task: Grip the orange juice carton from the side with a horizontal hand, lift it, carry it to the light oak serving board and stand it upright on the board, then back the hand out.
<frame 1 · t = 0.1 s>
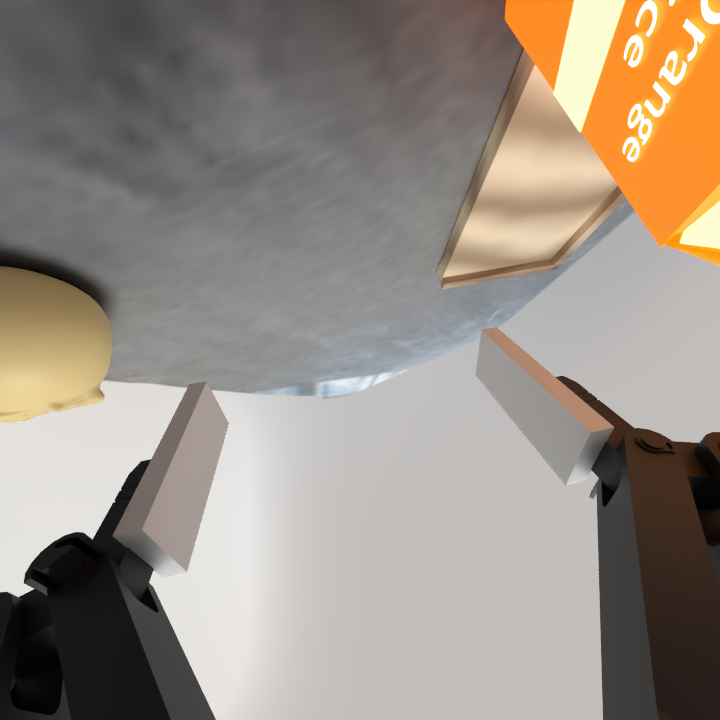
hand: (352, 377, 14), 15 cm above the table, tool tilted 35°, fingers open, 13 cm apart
serving board: (541, 187, 26), on the table
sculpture: (31, 292, 26), on the table
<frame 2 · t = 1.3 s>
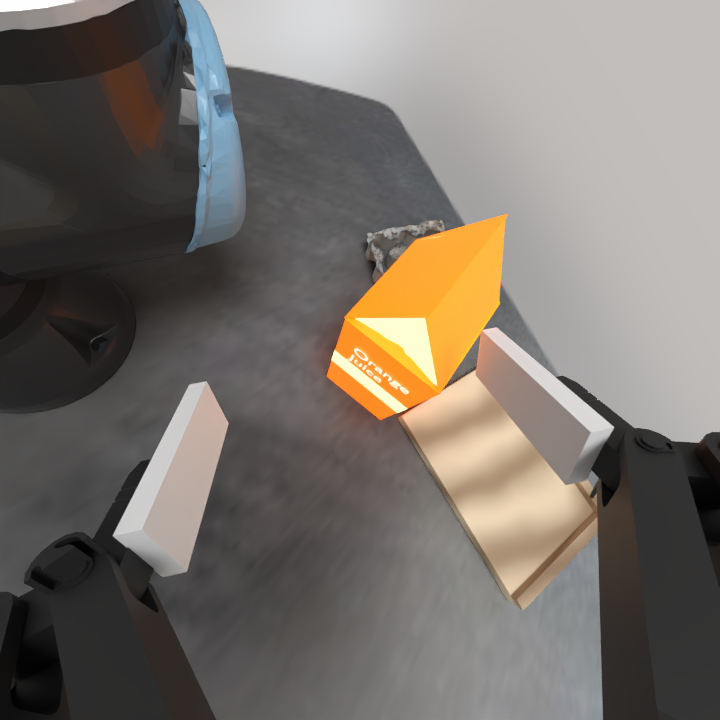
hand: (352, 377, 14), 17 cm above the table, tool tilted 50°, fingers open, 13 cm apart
orange juice: (375, 369, 34), on the table
serving board: (496, 465, 33), on the table
egg carton: (405, 266, 39), on the table
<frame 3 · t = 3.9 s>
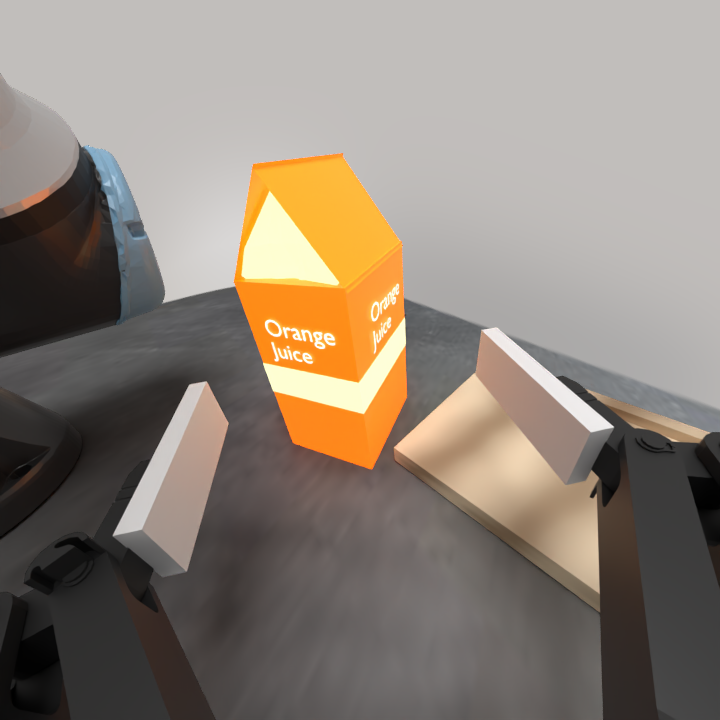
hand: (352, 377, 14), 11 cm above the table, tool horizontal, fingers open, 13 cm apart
orange juice: (353, 420, 28), on the table
serving board: (573, 477, 20), on the table
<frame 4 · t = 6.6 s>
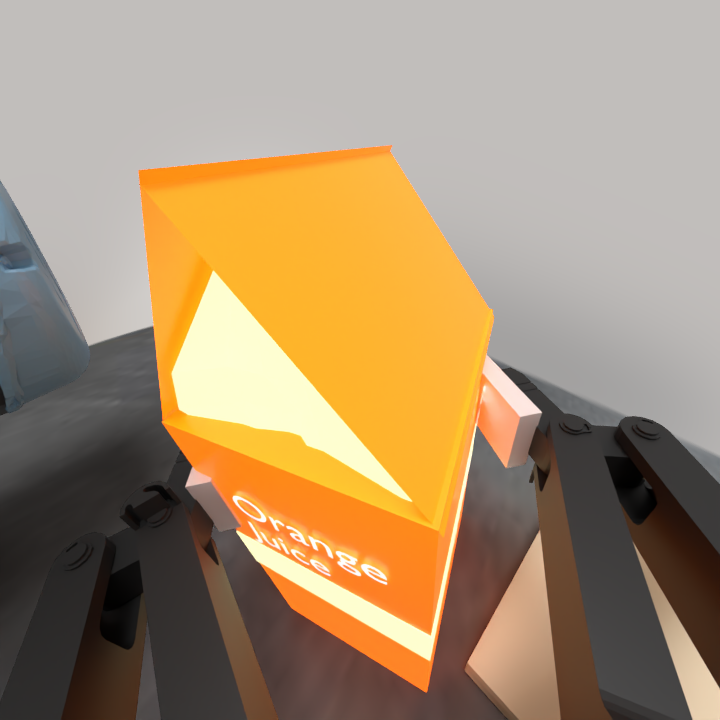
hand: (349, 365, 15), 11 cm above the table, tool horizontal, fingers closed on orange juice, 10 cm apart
orange juice: (383, 557, 18), on the table, touching gripper
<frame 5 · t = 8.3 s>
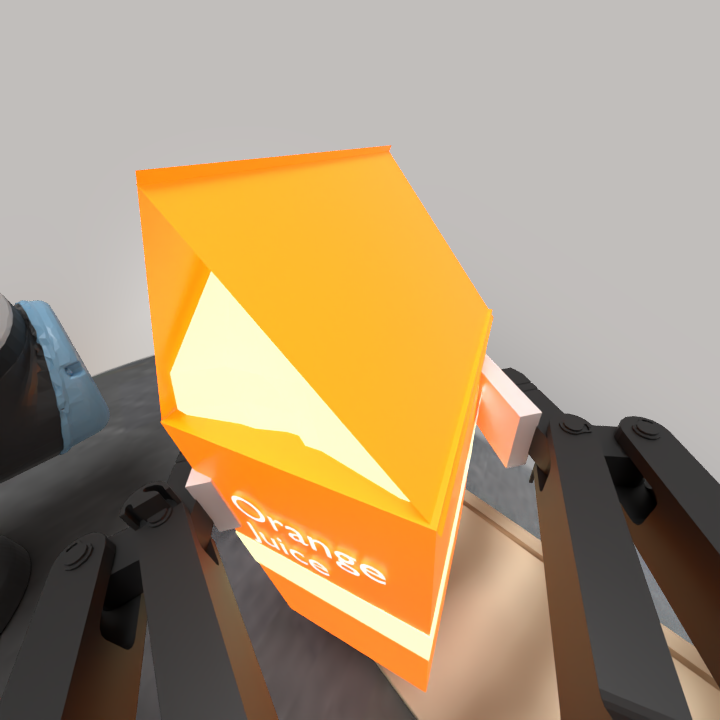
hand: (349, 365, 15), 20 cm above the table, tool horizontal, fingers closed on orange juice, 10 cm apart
orange juice: (383, 557, 18), point 9 cm above the table, touching gripper
serving board: (517, 656, 20), on the table
when the fingers open (14 cm above the table, at t = 10.3 s): orange juice drops 1 cm, resting on serving board.
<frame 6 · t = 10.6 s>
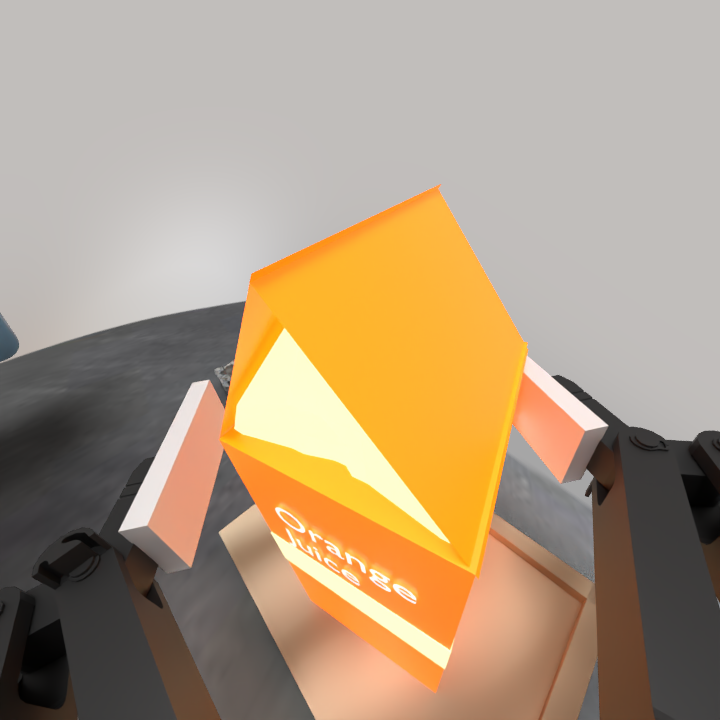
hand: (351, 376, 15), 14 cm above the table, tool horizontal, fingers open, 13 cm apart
orange juice: (399, 561, 19), point 1 cm above the table, touching gripper, serving board
serving board: (386, 572, 20), on the table
egg carton: (267, 380, 40), on the table
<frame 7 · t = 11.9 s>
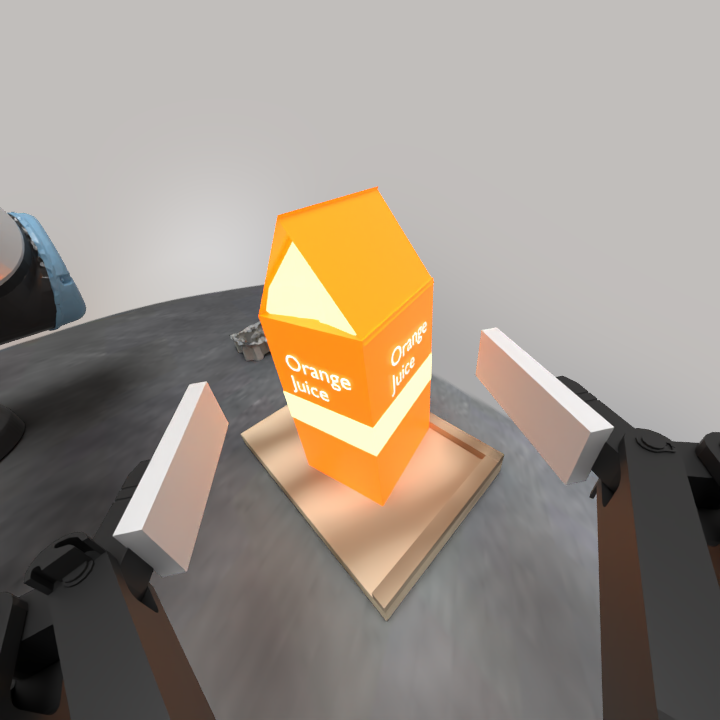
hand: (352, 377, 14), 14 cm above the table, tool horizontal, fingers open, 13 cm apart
orange juice: (370, 447, 27), point 1 cm above the table, touching serving board
serving board: (359, 456, 28), on the table
egg carton: (273, 345, 48), on the table
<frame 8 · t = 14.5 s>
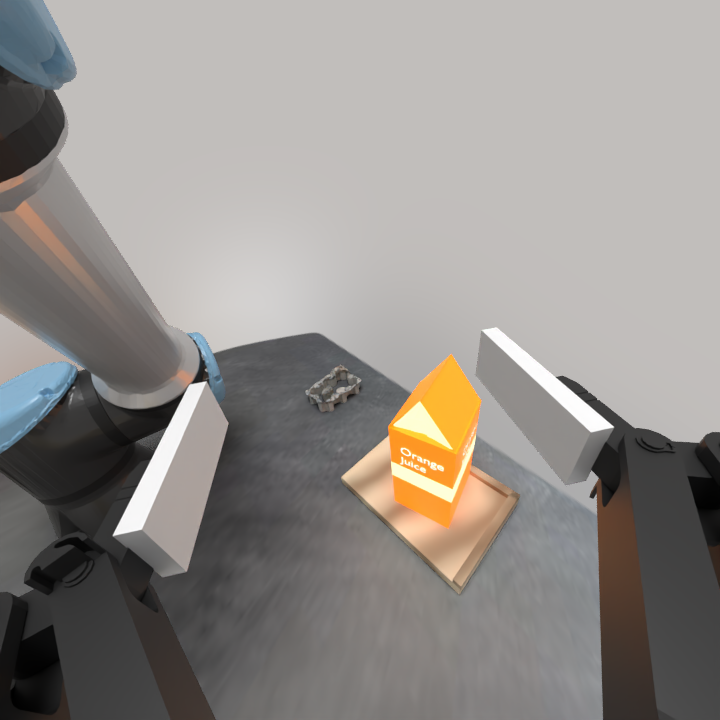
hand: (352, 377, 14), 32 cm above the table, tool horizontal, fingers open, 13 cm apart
orange juice: (432, 487, 42), point 1 cm above the table, touching serving board
serving board: (424, 493, 43), on the table
egg carton: (336, 396, 63), on the table
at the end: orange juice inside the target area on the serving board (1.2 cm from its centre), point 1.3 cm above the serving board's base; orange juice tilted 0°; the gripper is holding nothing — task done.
